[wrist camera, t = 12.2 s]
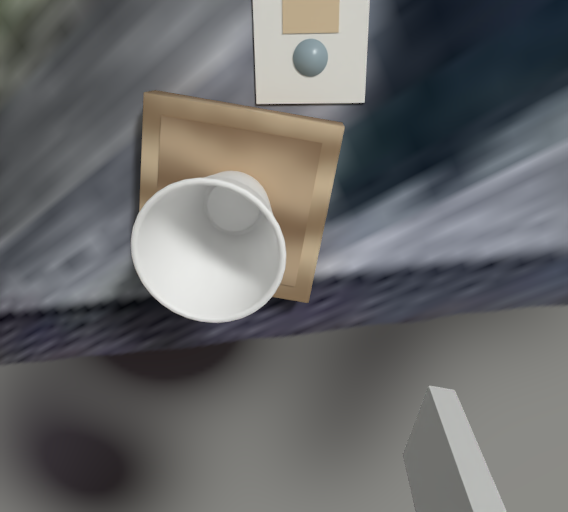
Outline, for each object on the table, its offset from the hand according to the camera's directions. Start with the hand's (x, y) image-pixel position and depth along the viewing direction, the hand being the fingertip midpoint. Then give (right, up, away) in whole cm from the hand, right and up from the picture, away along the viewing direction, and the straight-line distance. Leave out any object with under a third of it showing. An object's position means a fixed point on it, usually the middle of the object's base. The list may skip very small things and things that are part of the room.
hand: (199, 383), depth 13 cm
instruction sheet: (+5, +22, +23) cm, 32 cm away
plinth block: (-2, +9, +29) cm, 30 cm away
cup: (-2, +8, +26) cm, 27 cm away
